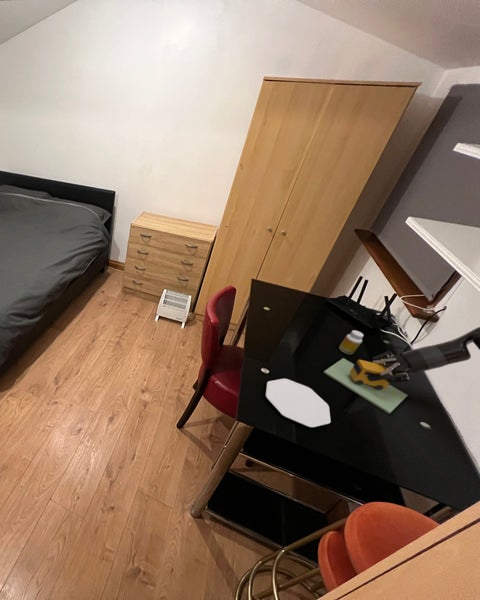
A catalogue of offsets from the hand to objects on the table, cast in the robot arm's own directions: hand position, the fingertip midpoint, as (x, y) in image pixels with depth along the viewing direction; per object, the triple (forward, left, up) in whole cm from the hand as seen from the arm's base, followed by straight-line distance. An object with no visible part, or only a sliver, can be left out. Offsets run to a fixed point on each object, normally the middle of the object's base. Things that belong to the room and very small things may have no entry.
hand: (365, 373), depth 121 cm
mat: (-1, -1, -5) cm, 5 cm away
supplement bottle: (+12, -17, -5) cm, 21 cm away
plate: (+7, +33, -5) cm, 34 cm away
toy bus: (-1, -1, -4) cm, 5 cm away
